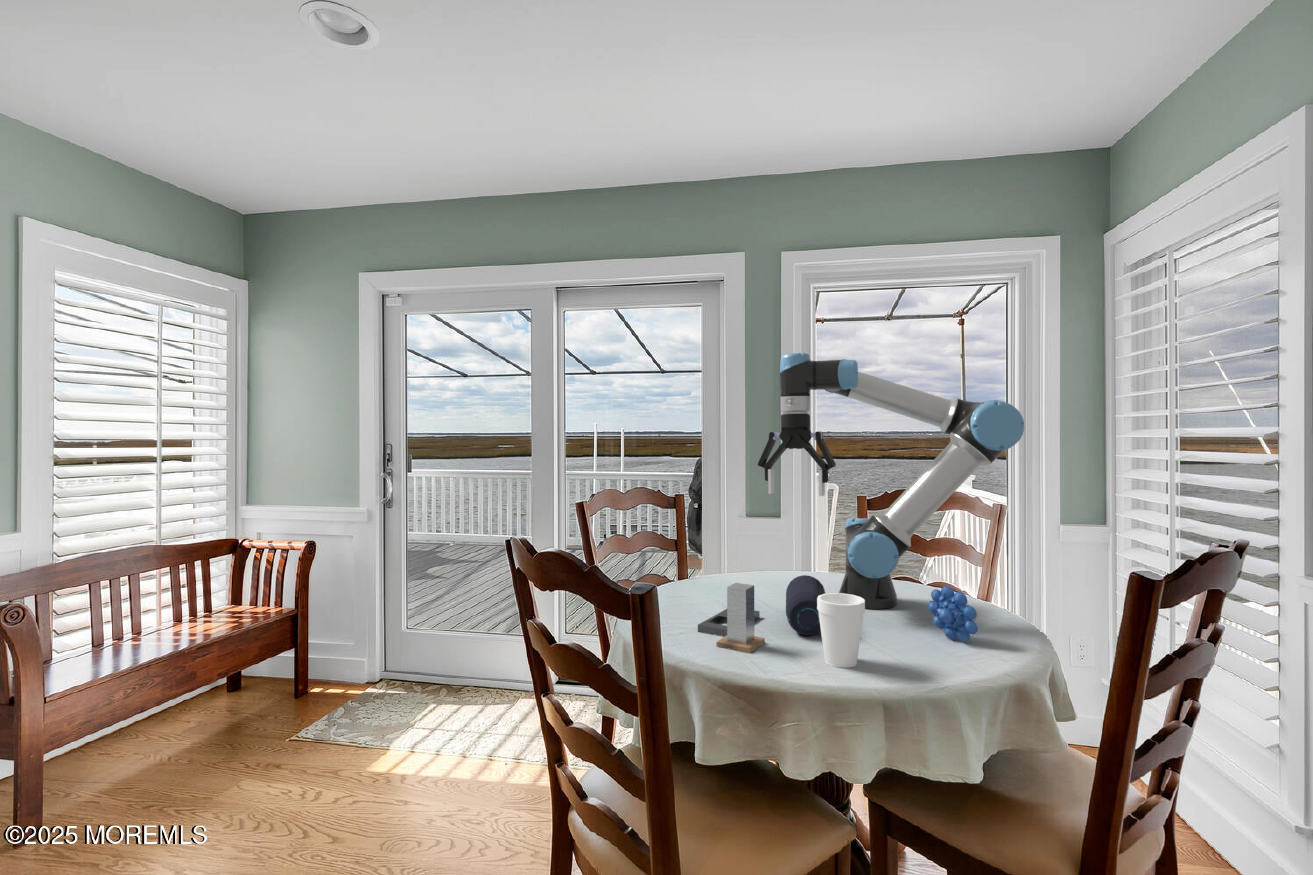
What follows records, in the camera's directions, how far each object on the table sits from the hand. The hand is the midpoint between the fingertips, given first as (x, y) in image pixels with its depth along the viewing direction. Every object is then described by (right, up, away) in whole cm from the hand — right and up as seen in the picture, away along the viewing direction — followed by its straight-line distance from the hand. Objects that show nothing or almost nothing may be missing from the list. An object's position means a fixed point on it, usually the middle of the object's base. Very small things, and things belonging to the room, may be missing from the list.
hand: (796, 494), depth 170 cm
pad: (-18, -31, -25) cm, 44 cm away
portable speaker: (0, -31, -10) cm, 33 cm away
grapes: (+30, -31, -23) cm, 49 cm away
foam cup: (+1, -31, -36) cm, 48 cm away
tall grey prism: (-18, -30, -25) cm, 43 cm away
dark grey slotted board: (-19, -31, -11) cm, 38 cm away
